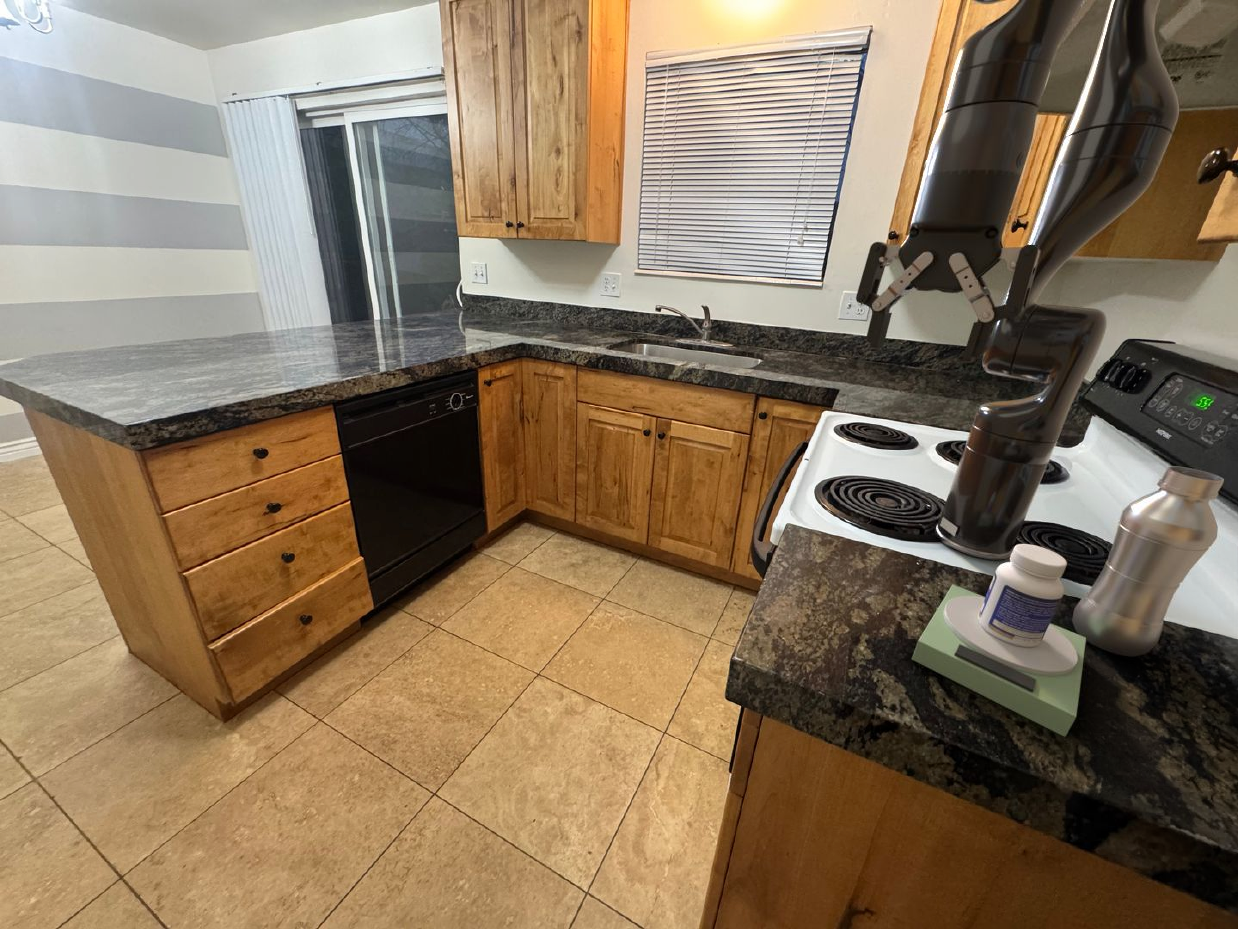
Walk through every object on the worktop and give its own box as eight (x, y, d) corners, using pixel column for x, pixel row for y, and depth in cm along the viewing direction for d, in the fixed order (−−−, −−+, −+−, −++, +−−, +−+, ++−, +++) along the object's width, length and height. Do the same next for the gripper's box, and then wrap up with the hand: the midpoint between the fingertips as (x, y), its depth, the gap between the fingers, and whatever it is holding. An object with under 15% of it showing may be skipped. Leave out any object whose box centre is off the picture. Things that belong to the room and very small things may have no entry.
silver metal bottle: (1164, 671, 50) (1274, 492, 43) (1088, 658, 51) (1182, 482, 44) (1118, 629, 56) (1207, 465, 48) (1051, 618, 57) (1128, 457, 50)
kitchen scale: (946, 600, 59) (954, 579, 58) (1076, 655, 52) (1088, 632, 50) (911, 659, 50) (920, 635, 48) (1065, 737, 42) (1079, 711, 41)
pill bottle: (1054, 650, 48) (1092, 572, 44) (1000, 647, 48) (1034, 569, 44) (1014, 614, 53) (1046, 541, 49) (965, 611, 53) (993, 538, 49)
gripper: (1076, 174, 43) (1009, 363, 49) (899, 183, 52) (861, 342, 58) (1069, 158, 38) (995, 371, 44) (874, 171, 47) (835, 346, 53)
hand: (919, 354), depth 51 cm, fingers open, 8 cm apart
